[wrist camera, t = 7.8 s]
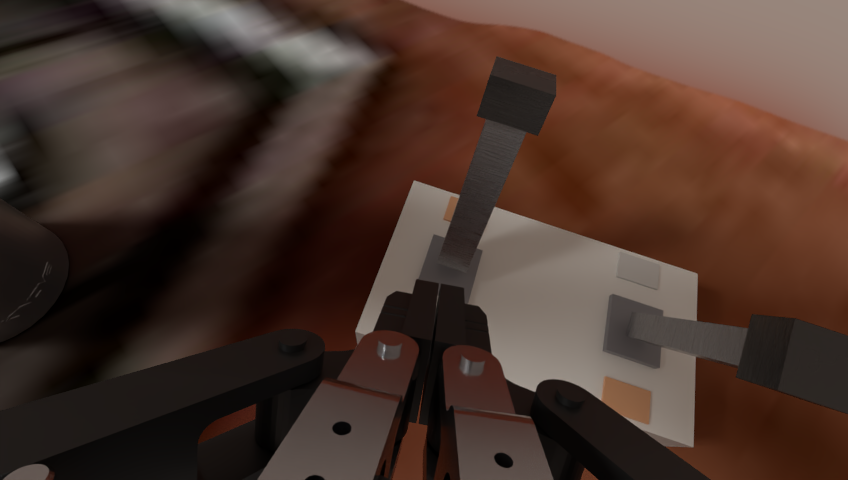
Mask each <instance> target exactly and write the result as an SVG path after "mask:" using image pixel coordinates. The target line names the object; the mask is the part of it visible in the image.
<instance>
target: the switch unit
mask: <svg viewBox="0 0 848 480" xmlns="http://www.w3.org/2000/svg"><path fill="white" fill-rule="evenodd" d="M459 196H460V195H457V194H454V193H451V192H448V191H445V190H442V189H439V188H436V187H433V186H429V185H426V184H423V183H420V182H417V181H414V182H413V184H412V187H411V190H410V192H409V195H408V197H407V200H406V202H405V205H404V208H403V210H402V213H401V215H400V218H399V220H398V223H397V226H396V228H395V231H394V233H393V236H392V238H391V241H390V244H389V246H388V249H387V251H386V254H385V256H384V259H383V262H382V264H381V267H380V269H379V272H378V274H377V277H376V280H375V282H374V285H373V287H372V290H371V292H370V295H369V298H368V300H367V303H366V305H365V308H364V310H363V313H362V315H361V318H360V321H359V323H358V326H357V328H356V331H355V333H356V339H357V344H358V343H359V342H360V340H361V339H362V337H363V336H365V335H366V334H368V333H370V332H373V330H374V327H375V325H376V322H377V320H378V317H379V315H380V313H381V310H382V307H383V305H384V302H385V300H386V297H387V296H389V295H390V294H392V293H394V292H395V291H400V292H406V293H411V294H412V293H413V289H414V285H415V281H416V279H420V280H425V281H431V282H436V283H439V288H438V296H439V290H440V286H441V283H442V284H447V285H453V286H458V287H463V288H464V298H465V304H470V305H476V306H479V307H480V308H481V309H482V310H483V312H484V313H485V314H486V315H487V322H488V329H489V337H490V344H491V351H492V355H493V356H495V357H496V358H497V359H498V360H499V362H500V363H501V366H502V369H503V373H504V376H505V378H506V379H508V380H509V381H511V382H513V383H514V384H517V385H519V386H521V387H524V388H526V389H529V390H531V391H534V392H536V388H537V386H538V384H539V383H540V382H542V381H544V380H548V379H558V380H564V381H568V382H571V383H573V384H576V385H578V386H580V387H582V388H584V389H585V390H587V391H588V392H590V393H591V394H592V395H594V396H595V397H597V398H598V399H599V400H601V401H602V402H604V403H605V404H606V405H608V406H609V407H611V408H612V409H613V410H615V411H616V412H617V413H619V414H620V415H622V416H623V417H624V418H626V419H627V420H629V421H630V422H631V423H633V424H634V425H635V426H637V427H638V428H640V429H641V430H642V431H644V432H645V433H647V434H648V435H649V436H651V437H652V438H653V439H655V440H656V441H658V442H659V443H660V444H662V445H663V446H672V447H694V409H695V368H696V357H695V356H691V355H687V354H684V353H680V352H677V351H673V350H669V349H666V348H662V347H658V346H655V345H652V344H649V343H646V342H643V341H640V340H637V339H634V338H631V337H628V336H626V332H627V329H628V325H629V322H630V318H631V315H632V312H637V313H644V314H651V315H658V316H665V317H672V318H679V319H686V320H693V321H697V285H698V274H697V273H694V272H691V271H688V270H685V269H682V268H679V267H676V266H673V265H670V264H667V263H664V262H661V261H657V260H654V259H651V258H648V257H645V256H642V255H639V254H636V253H633V252H630V251H627V250H624V249H621V248H618V247H615V246H612V245H609V244H606V243H603V242H600V241H597V240H594V239H591V238H588V237H585V236H581V235H578V234H575V233H572V232H569V231H566V230H563V229H560V228H557V227H554V226H551V225H548V224H545V223H542V222H539V221H536V220H533V219H530V218H527V217H524V216H521V215H518V214H515V213H512V212H509V211H505V210H502V209H499V208H496V207H494V209H493V211H492V214H491V216H490V218H489V221H488V223H487V225H486V228H485V230H484V232H483V235H482V237H481V239H480V242H479V244H478V246H477V249H476V251H475V253H474V256H473V258H472V260H471V263H470V265H469V267H468V270H467V272H466V273H465V272H462V271H459V270H456V269H453V268H450V267H447V266H444V265H441V264H438V263H437V260H438V257H439V254H440V251H441V247H442V245H443V242H444V239H445V236H446V233H447V230H448V227H449V224H450V222H451V219H452V216H453V213H454V210H455V207H456V204H457V201H458V199H459ZM438 296H437V301H438ZM436 306H437V304H436Z"/></svg>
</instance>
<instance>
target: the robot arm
mask: <svg viewBox="0 0 848 480" xmlns="http://www.w3.org/2000/svg"><path fill="white" fill-rule="evenodd" d="M68 269H69V260H68V254H67V251H66V249H65V247H64V244H63V242H62V241H61V240H60V239H59V238H58V237H57V236H56V235H55V234H54V233H53V232H51V231H50V230H48V229H46V228H45V227H43V226H42V225H40V224H39V223H37V222H35V221H34V220H32V219H31V218H29V217H28V216H26V215H25V214H23V213H21V212H20V211H18V210H17V209H15V208H14V207H12V206H11V205H9V204H8V203H6V202H5V201H3V200H2V199H0V342H3V341H5V340H7V339H10V338H12V337H15V336H16V335H18V334H20V333H21V332H23V331H24V330H26V329H28V328H29V327H31V326H32V325H33V324H34V323H36V322H37V321H38V320H39V319H40V318H42V317H43V316H44V315H45V314H46V313H47V311H48V310H49V309H50V308H51V307H52V306H53V305H54V303H55V302H56V300H57V299H58V297H59V295H60V294H61V292H62V290H63V288H64V285H65V282H66V280H67V277H68ZM438 288H439V283H436V282H431V281H425V280H420V279H416V281H415V285H414V289H413V293H412V294H411V293H406V292H400V291H395V292H394V293H392V294H390V295H389V296H387V297H386V300H385V302H384V305H383V307H382V310H381V313H380V315H379V317H378V320H377V322H376V325H375V327H374V330H373V332H370V333H368V334H366V335H365V336H363V337H362V339H361V340H360V342H359V343H358V345H357V347H356V348H355V349H353V350H349V351H324V350H325V344H324V341H323V340H322V338H320V337H319V336H318V335H316V334H314V333H312V332H309V331H306V330H300V329H284V330H279V331H275V332H271V333H268V334H265V335H261V336H258V337H254V338H251V339H247V340H244V341H240V342H237V343H233V344H230V345H226V346H223V347H220V348H216V349H213V350H209V351H206V352H202V353H199V354H195V355H192V356H188V357H185V358H182V359H178V360H175V361H171V362H168V363H164V364H161V365H157V366H154V367H150V368H147V369H144V370H140V371H137V372H133V373H130V374H126V375H123V376H119V377H116V378H112V379H109V380H105V381H102V382H99V383H95V384H92V385H88V386H85V387H81V388H78V389H74V390H71V391H67V392H64V393H61V394H57V395H54V396H50V397H47V398H43V399H40V400H36V401H33V402H29V403H26V404H23V405H19V406H16V407H12V408H9V409H5V410H2V411H0V480H392V479H393V475H394V472H395V468H396V464H397V461H398V457H399V454H400V450H401V446H402V440H403V437H404V436H405V434H406V432H407V429H408V424H409V422H412V423H416V421H417V416H418V410H419V405H420V400H421V395H422V390H423V395H422V403H421V410H420V418H419V424H423V425H428V428H427V435H426V440H425V445H424V449H423V480H580V479H581V476H582V473H583V471H584V468H586V469H587V470H588V471H590V472H591V473H592V474H593V475H594V476H595V477H596V478H597V479H599V480H710V479H709V478H708V477H706V476H705V475H703V474H702V473H701V472H699V471H698V470H696V469H695V468H694V467H692V466H691V465H690V464H688V463H687V462H685V461H684V460H683V459H681V458H680V457H678V456H677V455H676V454H674V453H673V452H671V451H670V450H669V449H667V448H666V447H665V446H663V445H662V444H660V443H659V442H658V441H656V440H655V439H653V438H652V437H651V436H649V435H648V434H647V433H645V432H644V431H642V430H641V429H640V428H638V427H637V426H635V425H634V424H633V423H631V422H630V421H629V420H627V419H626V418H624V417H623V416H622V415H620V414H619V413H617V412H616V411H615V410H613V409H612V408H611V407H609V406H608V405H606V404H605V403H604V402H602V401H601V400H599V399H598V398H597V397H595V396H594V395H592V394H591V393H590V392H588V391H587V390H585V389H584V388H582V387H580V386H578V385H576V384H573V383H571V382H568V381H564V380H558V379H548V380H544V381H542V382H540V383H539V384H538V386H537V388H536V392H534V391H531V390H529V389H526V388H524V387H521V386H519V385H517V384H514V383H513V382H511V381H509V380H508V379H506V378H505V376H504V373H503V369H502V366H501V363H500V362H499V360H498V359H497V358H496V357H495V356H493V355H492V351H491V344H490V337H489V329H488V322H487V315H486V314H485V313H484V312H483V310H482V309H481V308H480V307H479V306H476V305H470V304H465V298H464V288H463V287H458V286H453V285H447V284H442V283H441V286H440V290H439V296H438ZM437 296H438V301H437ZM436 304H437V306H436ZM424 379H425V380H424ZM423 385H424V388H423ZM253 404H256V417H255V420H253V421H250V422H248V423H246V424H243V425H241V426H239V427H237V428H234V429H232V430H230V431H227V432H225V433H223V434H221V435H218V436H216V437H214V438H211V439H209V440H207V441H205V442H202V443H200V444H198V439H199V437H200V435H201V433H202V432H203V430H204V429H205V428H206V427H207V426H208V425H209V424H211V423H212V422H214V421H215V420H217V419H219V418H222V417H224V416H227V415H229V414H231V413H234V412H236V411H239V410H241V409H244V408H246V407H249V406H251V405H253Z"/></svg>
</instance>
